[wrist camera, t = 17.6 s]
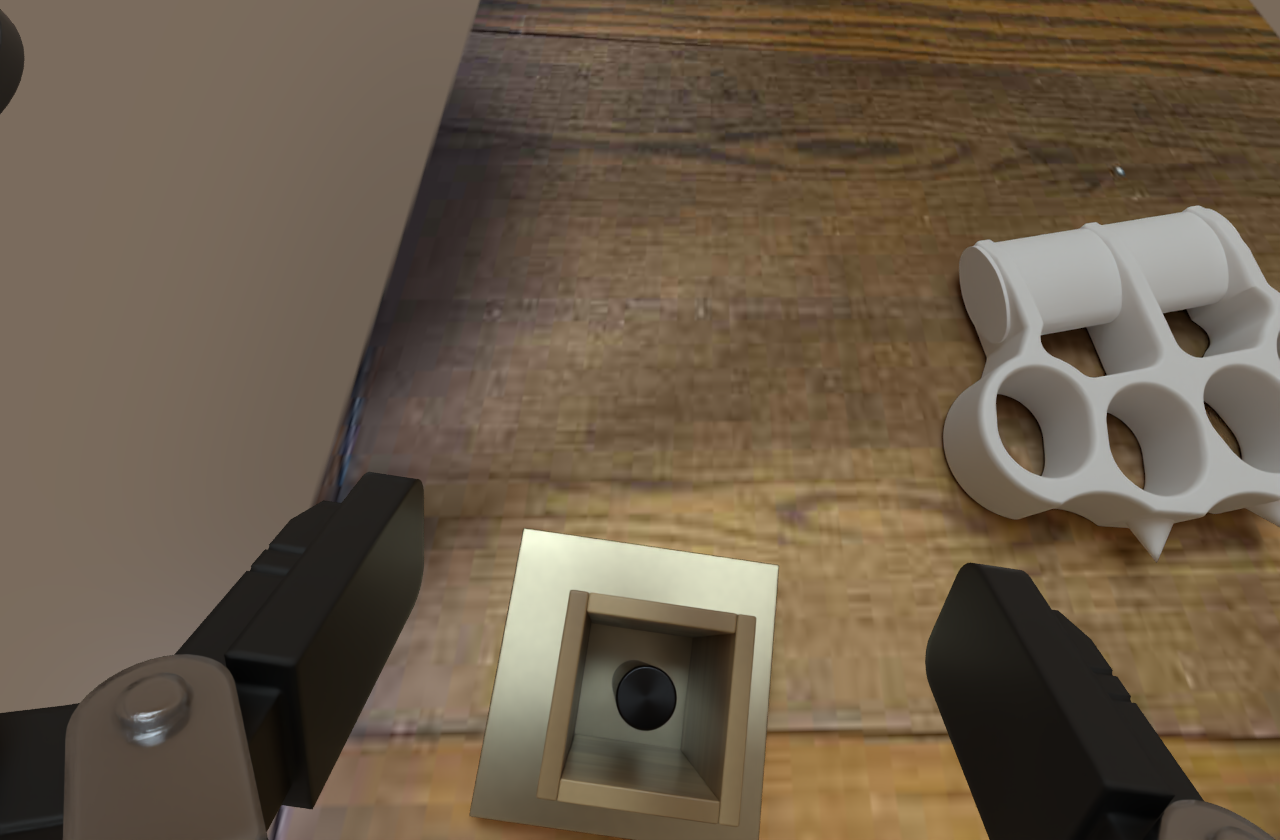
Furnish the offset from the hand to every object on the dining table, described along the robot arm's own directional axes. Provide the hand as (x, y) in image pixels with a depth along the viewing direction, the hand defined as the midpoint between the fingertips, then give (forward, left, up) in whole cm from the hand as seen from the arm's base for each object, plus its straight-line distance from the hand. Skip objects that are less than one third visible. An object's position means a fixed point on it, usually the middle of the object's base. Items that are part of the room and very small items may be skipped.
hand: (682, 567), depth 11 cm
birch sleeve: (0, -2, -17) cm, 17 cm away
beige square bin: (0, -2, -18) cm, 18 cm away
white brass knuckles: (+20, +13, -18) cm, 30 cm away
